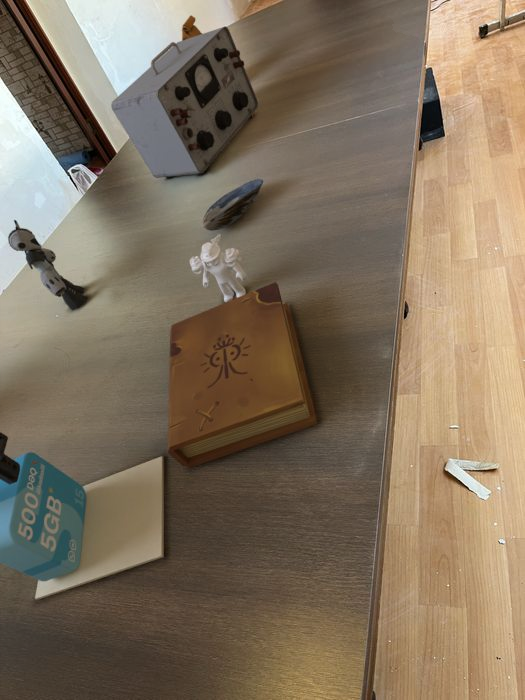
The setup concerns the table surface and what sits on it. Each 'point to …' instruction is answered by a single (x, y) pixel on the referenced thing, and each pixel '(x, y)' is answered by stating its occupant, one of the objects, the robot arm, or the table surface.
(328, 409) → the table surface
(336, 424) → the table surface
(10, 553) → the data package
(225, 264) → the hat wearing toy figure
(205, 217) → the seashell
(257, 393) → the diary
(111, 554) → the mat
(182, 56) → the vintage electronic device
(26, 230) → the robot
